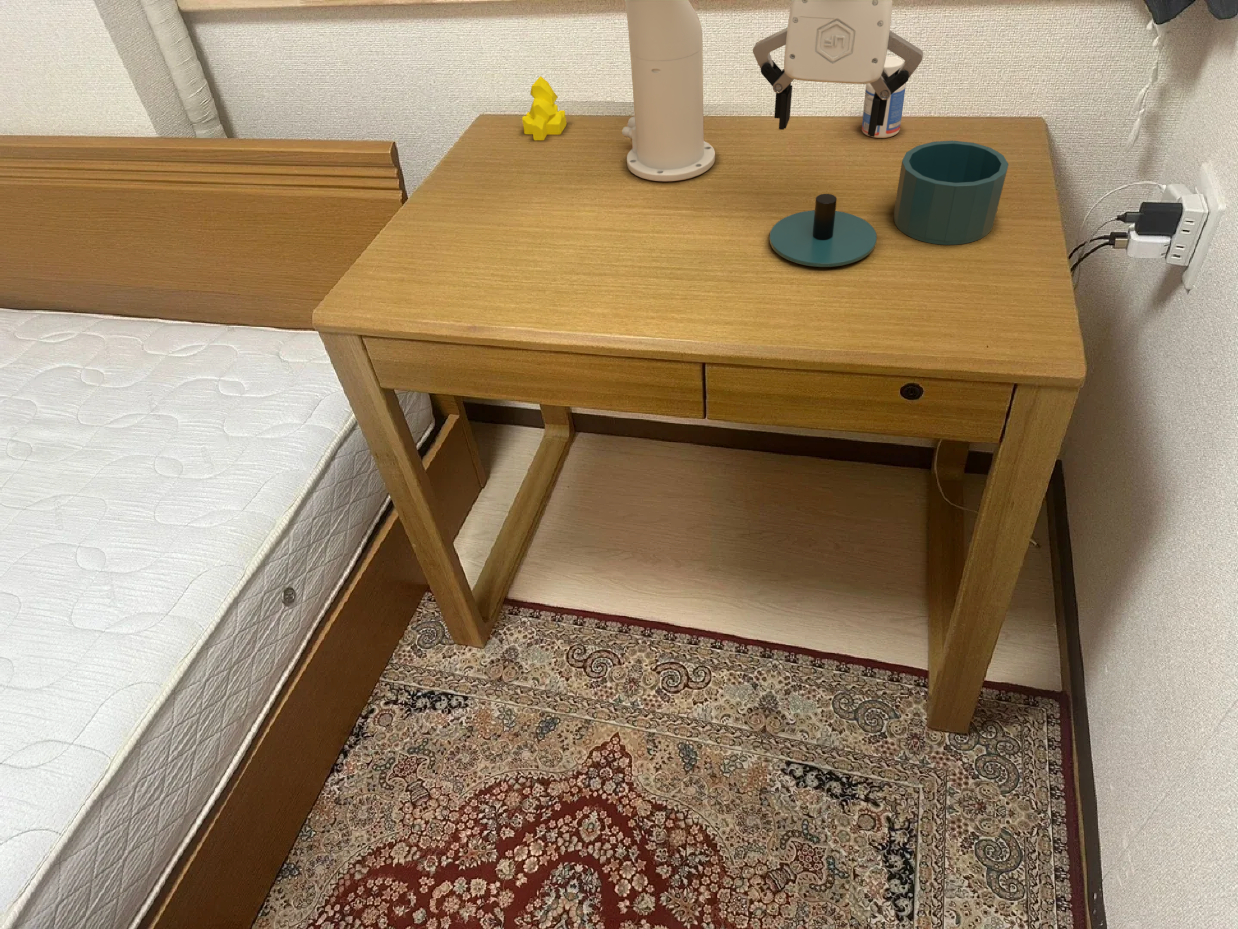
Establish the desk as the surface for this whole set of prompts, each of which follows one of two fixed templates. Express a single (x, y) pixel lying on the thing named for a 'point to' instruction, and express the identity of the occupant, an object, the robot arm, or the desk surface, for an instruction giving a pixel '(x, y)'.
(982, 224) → the tin
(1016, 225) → the desk surface
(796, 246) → the lid
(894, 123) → the pill bottle
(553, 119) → the yellow irregular lump
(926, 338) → the desk surface
